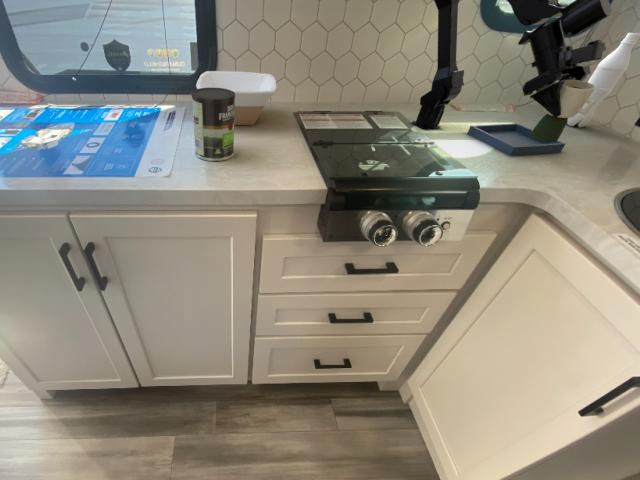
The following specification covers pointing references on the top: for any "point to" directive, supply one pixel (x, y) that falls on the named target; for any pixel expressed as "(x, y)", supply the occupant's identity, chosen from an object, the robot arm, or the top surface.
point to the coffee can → (213, 123)
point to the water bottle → (606, 77)
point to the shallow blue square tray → (513, 139)
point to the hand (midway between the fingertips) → (565, 114)
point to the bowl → (242, 91)
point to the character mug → (564, 110)
